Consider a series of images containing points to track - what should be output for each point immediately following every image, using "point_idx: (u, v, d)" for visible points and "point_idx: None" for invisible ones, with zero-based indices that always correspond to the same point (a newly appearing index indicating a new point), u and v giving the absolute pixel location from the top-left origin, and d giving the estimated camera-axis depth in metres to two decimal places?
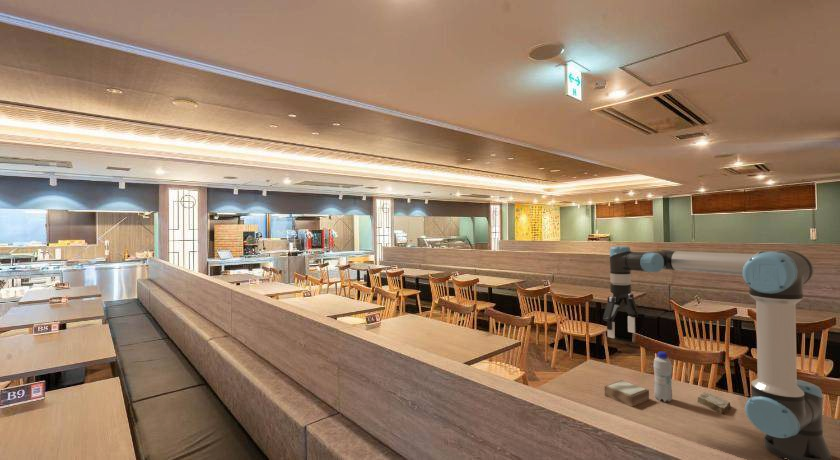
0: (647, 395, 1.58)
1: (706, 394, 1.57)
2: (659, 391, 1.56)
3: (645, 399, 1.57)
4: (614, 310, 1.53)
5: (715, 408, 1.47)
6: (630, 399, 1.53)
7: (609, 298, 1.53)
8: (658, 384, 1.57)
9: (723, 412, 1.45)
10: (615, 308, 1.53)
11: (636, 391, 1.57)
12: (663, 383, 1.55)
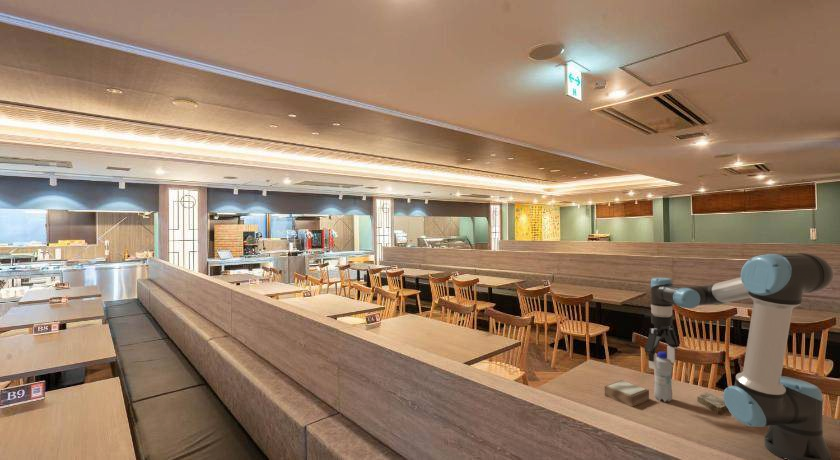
0: (647, 395, 1.58)
1: (707, 395, 1.57)
2: (659, 391, 1.56)
3: (645, 399, 1.57)
4: (656, 342, 1.55)
5: (712, 407, 1.48)
6: (630, 399, 1.53)
7: (651, 330, 1.55)
8: (659, 384, 1.57)
9: (719, 412, 1.45)
10: (657, 340, 1.55)
11: (636, 391, 1.57)
12: (663, 383, 1.55)
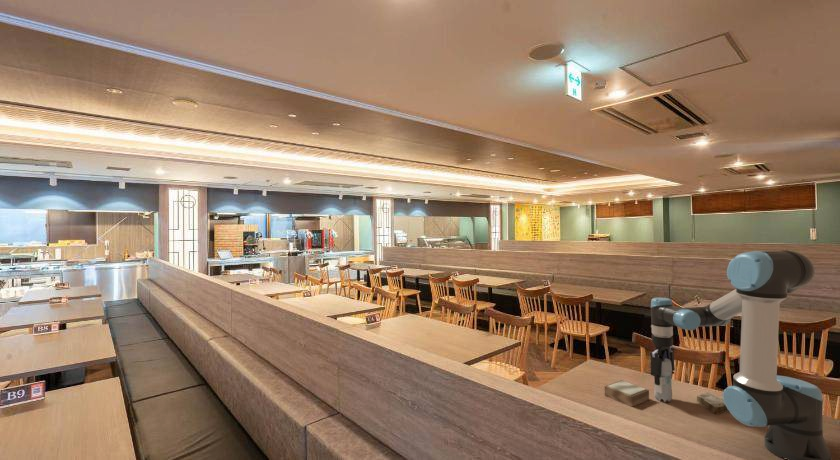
0: (647, 395, 1.58)
1: (708, 395, 1.56)
2: None
3: (645, 399, 1.57)
4: (659, 364, 1.56)
5: (709, 407, 1.48)
6: (630, 399, 1.53)
7: (652, 354, 1.55)
8: None
9: (716, 411, 1.45)
10: (660, 362, 1.56)
11: (636, 391, 1.57)
12: (662, 383, 1.55)
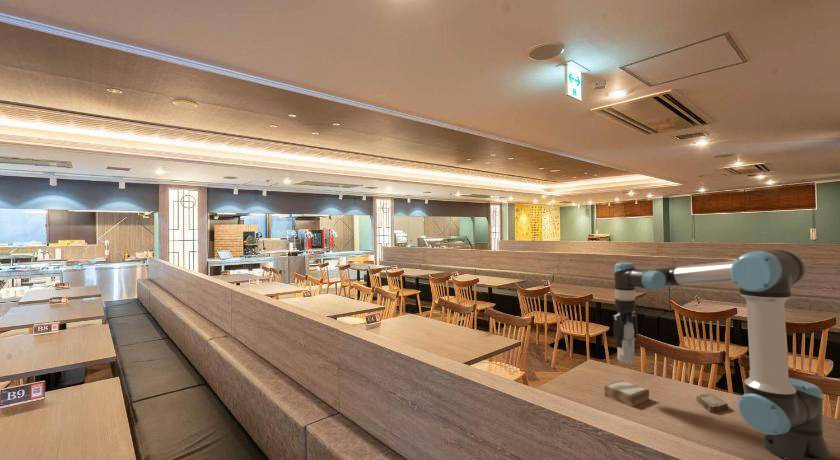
0: (647, 395, 1.58)
1: (709, 395, 1.56)
2: None
3: (645, 399, 1.57)
4: (621, 327, 1.58)
5: (706, 406, 1.49)
6: (630, 399, 1.53)
7: (614, 317, 1.58)
8: None
9: (711, 411, 1.46)
10: (622, 325, 1.58)
11: (636, 391, 1.57)
12: (625, 345, 1.58)
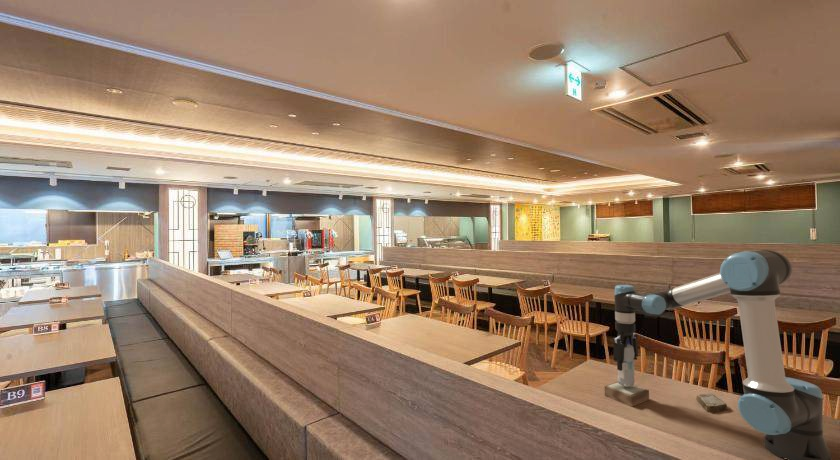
0: (647, 395, 1.58)
1: (709, 395, 1.56)
2: None
3: (645, 399, 1.57)
4: (622, 350, 1.58)
5: (704, 405, 1.49)
6: (630, 399, 1.53)
7: (614, 340, 1.58)
8: None
9: (708, 410, 1.47)
10: (622, 348, 1.58)
11: (636, 391, 1.57)
12: (625, 368, 1.58)
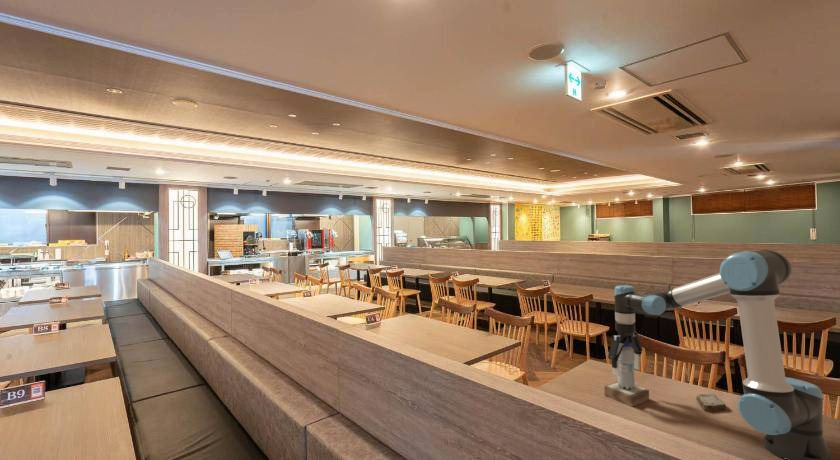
0: (647, 395, 1.58)
1: (710, 395, 1.56)
2: (621, 379, 1.59)
3: (645, 399, 1.57)
4: (619, 348, 1.57)
5: (702, 405, 1.50)
6: (630, 399, 1.53)
7: (614, 337, 1.58)
8: (621, 372, 1.59)
9: (705, 409, 1.47)
10: (620, 346, 1.58)
11: (636, 391, 1.57)
12: (625, 371, 1.58)
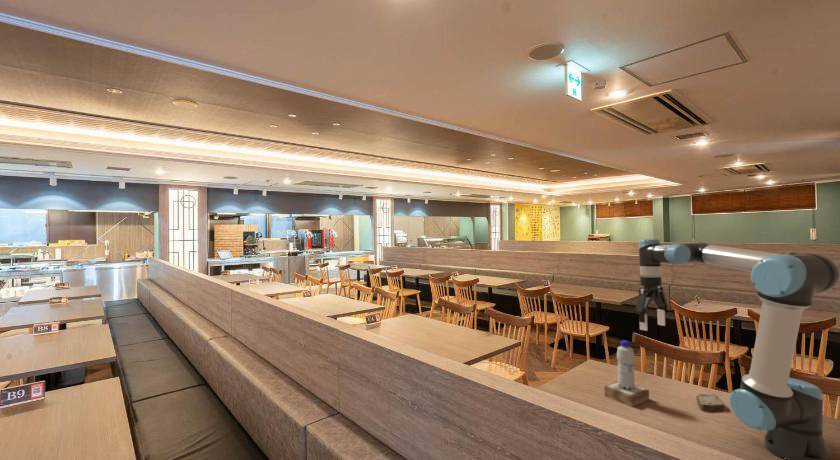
0: (647, 395, 1.58)
1: (711, 395, 1.56)
2: (621, 379, 1.59)
3: (645, 399, 1.57)
4: (646, 302, 1.53)
5: (699, 404, 1.51)
6: (630, 399, 1.53)
7: (641, 290, 1.53)
8: (621, 372, 1.59)
9: (701, 408, 1.48)
10: (647, 300, 1.53)
11: (636, 391, 1.57)
12: (625, 371, 1.58)
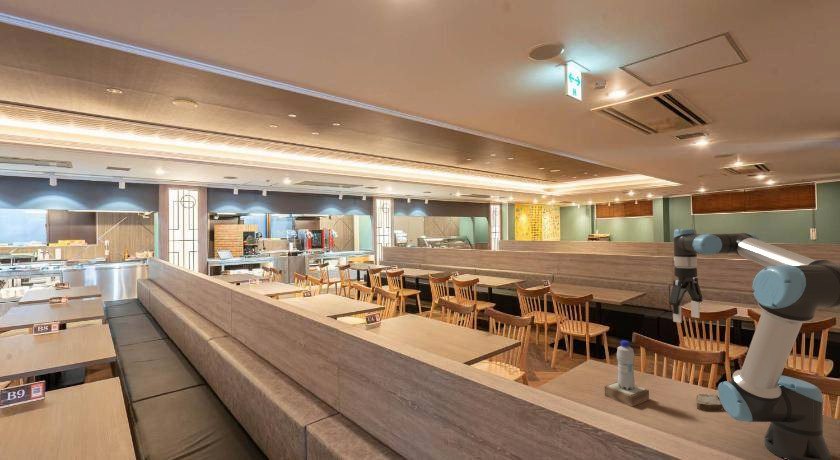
0: (647, 395, 1.58)
1: (711, 396, 1.55)
2: (621, 379, 1.59)
3: (645, 399, 1.57)
4: (680, 294, 1.49)
5: None
6: (630, 399, 1.53)
7: (675, 281, 1.49)
8: (621, 372, 1.59)
9: (698, 407, 1.49)
10: (681, 292, 1.49)
11: (636, 391, 1.57)
12: (625, 371, 1.58)
